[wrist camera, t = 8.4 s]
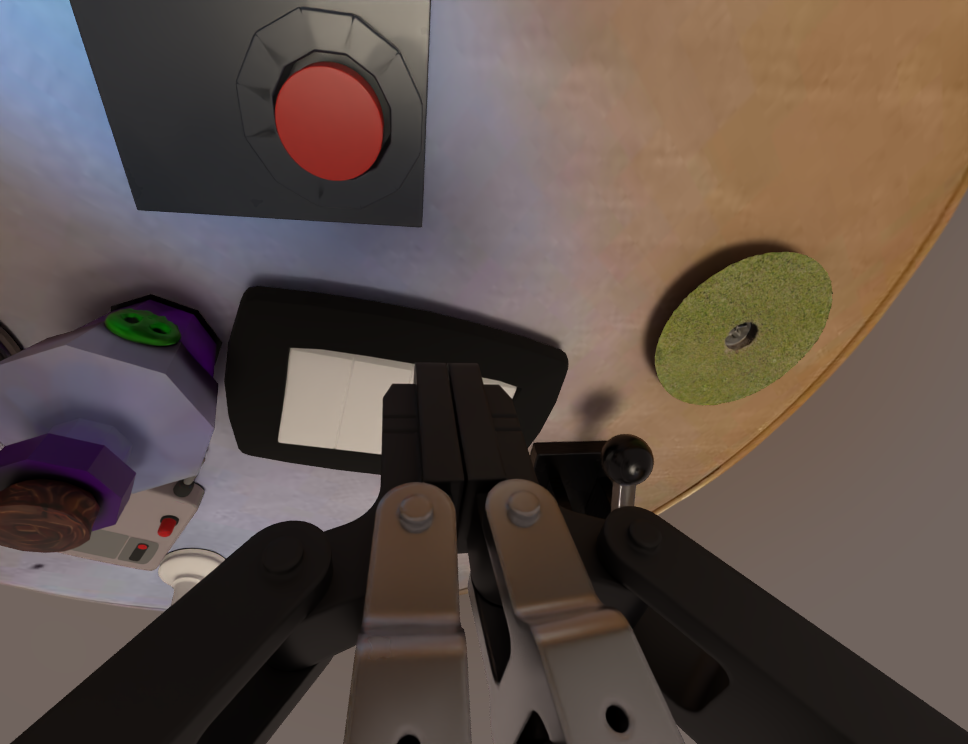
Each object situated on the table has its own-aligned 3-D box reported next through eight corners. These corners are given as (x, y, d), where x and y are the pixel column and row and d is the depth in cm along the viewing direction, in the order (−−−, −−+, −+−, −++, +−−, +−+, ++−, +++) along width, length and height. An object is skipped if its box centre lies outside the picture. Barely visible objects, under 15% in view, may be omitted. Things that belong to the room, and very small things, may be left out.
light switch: (218, 473, 29) (214, 289, 21) (231, 437, 31) (232, 257, 23) (507, 499, 35) (596, 367, 27) (501, 468, 37) (582, 336, 29)
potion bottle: (238, 273, 24) (136, 443, 14) (261, 401, 29) (196, 590, 19) (39, 260, 22) (-230, 445, 12) (100, 400, 27) (-57, 607, 17)
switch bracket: (533, 442, 35) (584, 597, 26) (631, 440, 36) (712, 585, 27) (513, 523, 41) (548, 672, 31) (598, 518, 42) (655, 658, 33)
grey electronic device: (47, 551, 34) (22, 591, 31) (116, 415, 28) (90, 452, 25) (149, 572, 37) (132, 609, 35) (230, 454, 31) (217, 490, 28)
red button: (290, 165, 18) (282, 177, 17) (277, 54, 16) (266, 58, 15) (384, 172, 19) (383, 185, 18) (383, 68, 17) (382, 72, 15)
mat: (622, 389, 33) (633, 407, 31) (678, 234, 26) (696, 248, 25) (761, 387, 35) (777, 404, 33) (845, 243, 28) (871, 256, 27)
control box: (153, 198, 21) (117, 225, 18) (71, -74, 16) (3, -93, 13) (420, 215, 23) (424, 242, 21) (428, -16, 18) (435, -22, 15)
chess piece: (229, 582, 40) (189, 722, 32) (163, 582, 38) (104, 728, 30) (228, 548, 37) (183, 693, 29) (156, 547, 35) (89, 698, 28)
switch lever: (593, 428, 30) (616, 444, 27) (639, 427, 31) (666, 442, 27) (580, 609, 32) (599, 643, 29) (622, 604, 33) (646, 637, 30)
